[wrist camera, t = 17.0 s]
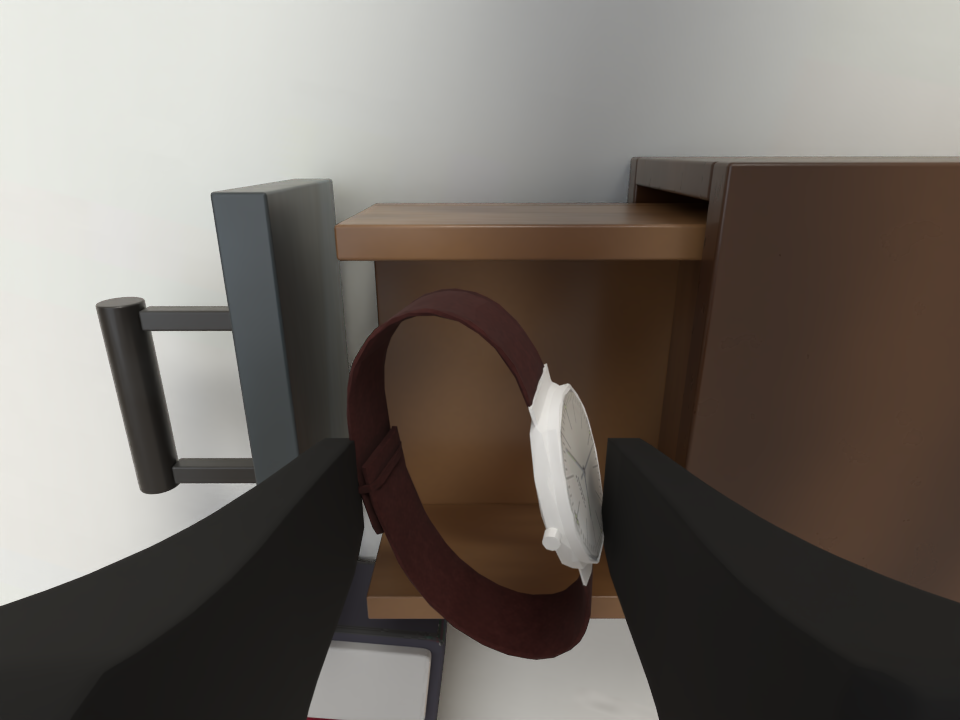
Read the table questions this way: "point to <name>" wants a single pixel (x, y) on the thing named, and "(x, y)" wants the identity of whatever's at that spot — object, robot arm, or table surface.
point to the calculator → (379, 664)
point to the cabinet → (828, 350)
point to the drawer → (433, 355)
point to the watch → (557, 473)
